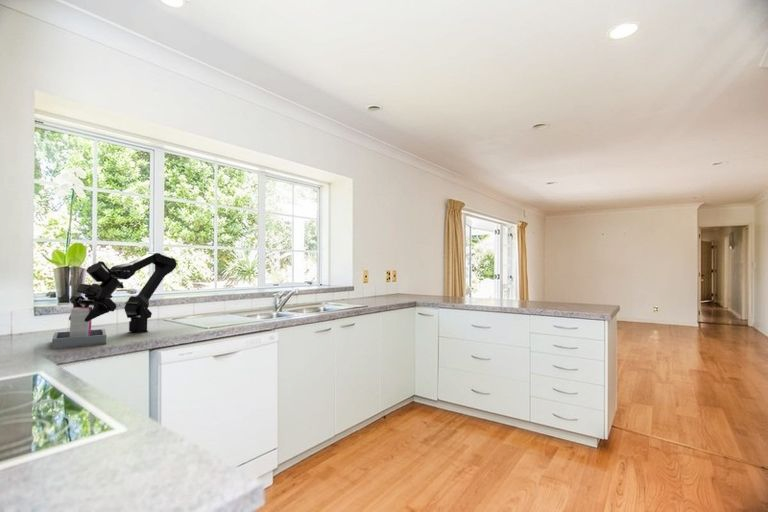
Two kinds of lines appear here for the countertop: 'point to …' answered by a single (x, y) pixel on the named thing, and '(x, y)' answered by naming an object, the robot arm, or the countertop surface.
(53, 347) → the tray
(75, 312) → the supplement box
